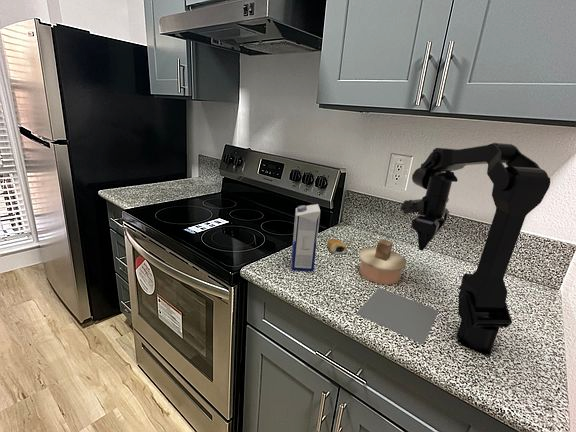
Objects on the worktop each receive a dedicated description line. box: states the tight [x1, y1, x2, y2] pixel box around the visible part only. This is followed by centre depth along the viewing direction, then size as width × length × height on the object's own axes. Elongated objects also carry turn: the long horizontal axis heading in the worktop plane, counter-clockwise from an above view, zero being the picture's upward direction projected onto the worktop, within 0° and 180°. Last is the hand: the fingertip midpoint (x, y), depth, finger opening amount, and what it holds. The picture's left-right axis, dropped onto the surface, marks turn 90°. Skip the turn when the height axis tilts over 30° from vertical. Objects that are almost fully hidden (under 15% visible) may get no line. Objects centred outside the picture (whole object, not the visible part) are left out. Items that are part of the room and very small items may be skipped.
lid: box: [358, 238, 407, 271], centre depth 94 cm, size 14×14×6 cm
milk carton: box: [290, 203, 321, 273], centre depth 95 cm, size 7×7×20 cm
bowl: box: [359, 260, 403, 286], centre depth 96 cm, size 12×12×6 cm
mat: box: [355, 287, 440, 345], centre depth 78 cm, size 16×16×1 cm
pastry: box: [326, 238, 349, 255], centre depth 112 cm, size 9×7×4 cm
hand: (424, 245), depth 91 cm, fingers open, 9 cm apart
